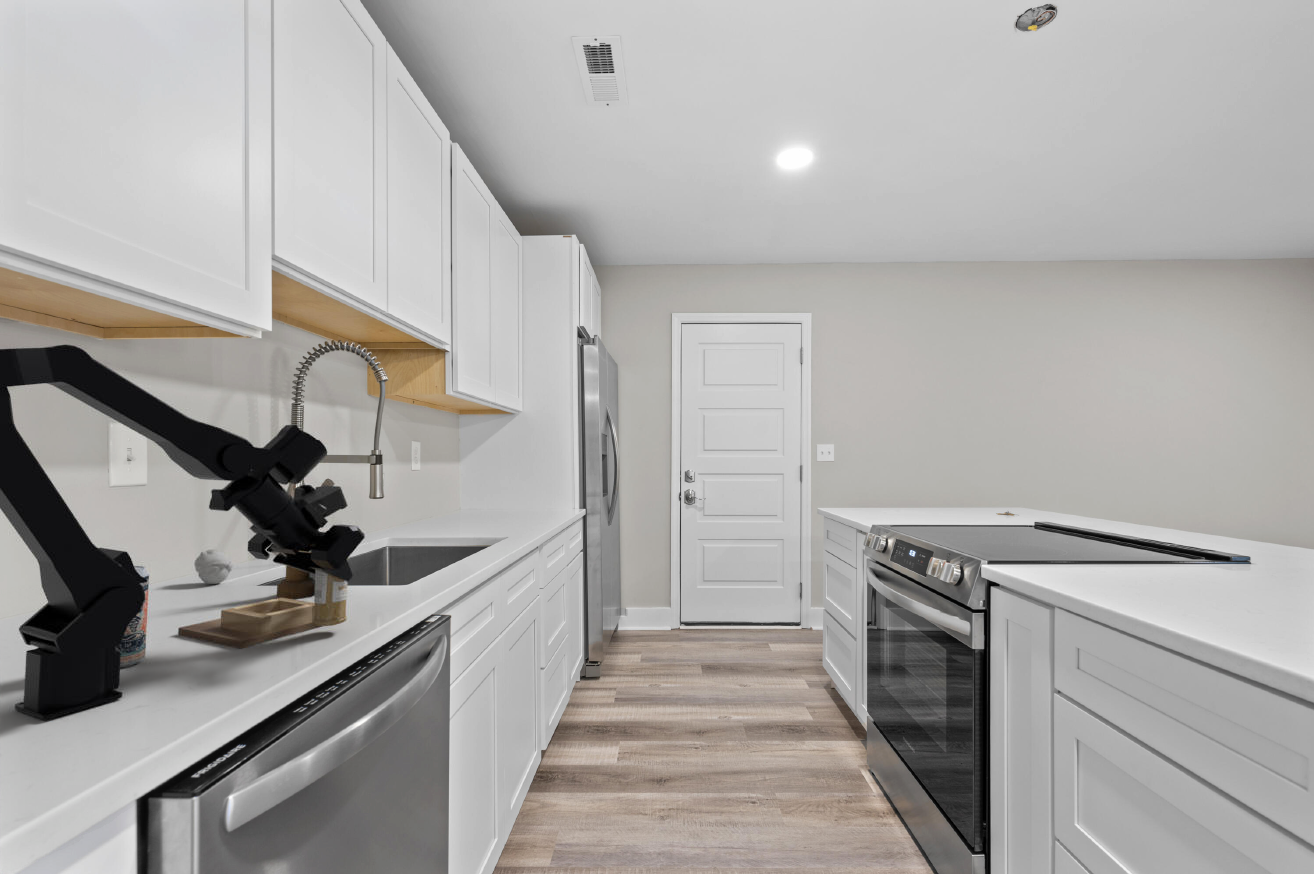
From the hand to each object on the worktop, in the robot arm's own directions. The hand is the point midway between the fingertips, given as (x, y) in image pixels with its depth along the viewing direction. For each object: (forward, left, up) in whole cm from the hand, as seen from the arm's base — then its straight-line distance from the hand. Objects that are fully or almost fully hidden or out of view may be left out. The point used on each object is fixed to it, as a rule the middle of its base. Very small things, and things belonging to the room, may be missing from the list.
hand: (339, 576), depth 93 cm
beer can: (-22, +11, -8) cm, 26 cm away
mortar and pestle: (+13, +27, -8) cm, 31 cm away
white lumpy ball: (+12, +51, -8) cm, 53 cm away
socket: (-4, +11, -8) cm, 15 cm away
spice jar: (-1, 0, -7) cm, 7 cm away
